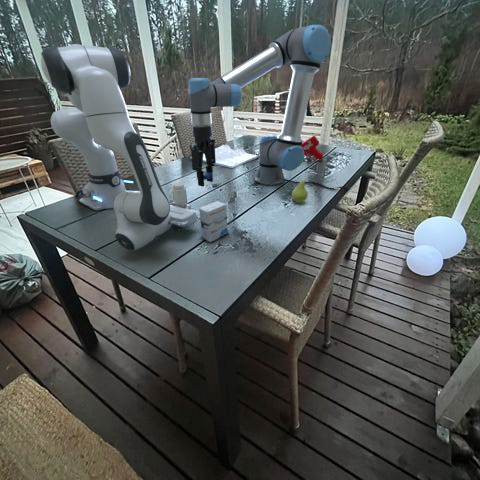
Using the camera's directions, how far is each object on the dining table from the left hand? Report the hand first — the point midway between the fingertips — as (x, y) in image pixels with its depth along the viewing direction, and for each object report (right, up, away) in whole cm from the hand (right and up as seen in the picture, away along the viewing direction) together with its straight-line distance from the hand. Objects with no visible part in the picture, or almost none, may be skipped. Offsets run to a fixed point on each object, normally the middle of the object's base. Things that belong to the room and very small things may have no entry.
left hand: (182, 205), depth 105 cm
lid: (+8, +14, +8) cm, 18 cm away
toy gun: (+65, +38, +70) cm, 103 cm away
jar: (0, -6, +3) cm, 6 cm away
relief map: (+12, +41, +75) cm, 86 cm away
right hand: (+8, +11, +10) cm, 17 cm away
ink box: (+13, -12, -7) cm, 19 cm away
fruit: (+49, +3, +16) cm, 52 cm away
